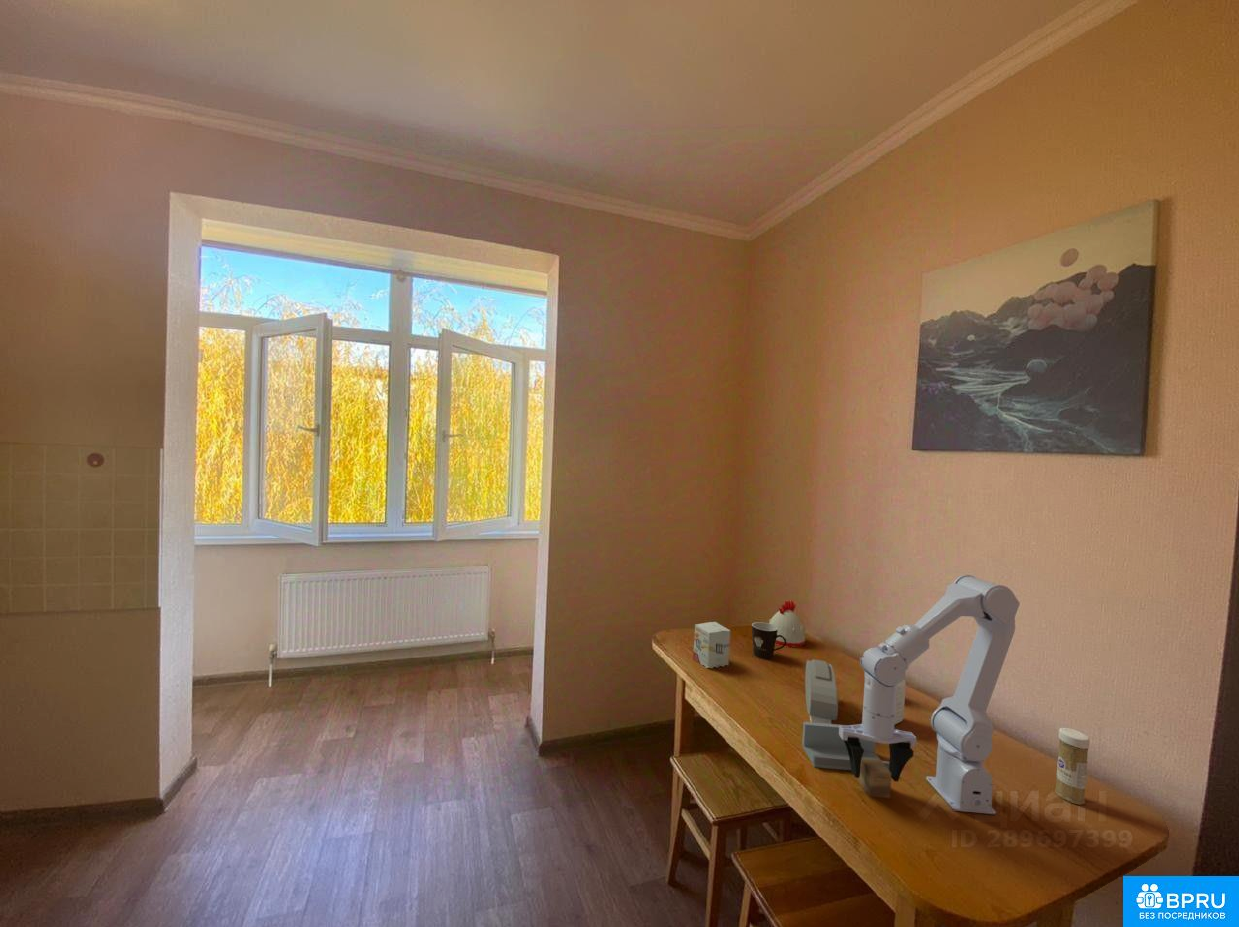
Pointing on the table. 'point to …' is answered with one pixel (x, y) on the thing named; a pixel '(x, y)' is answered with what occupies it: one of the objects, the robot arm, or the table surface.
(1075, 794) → the sprinkles bottle
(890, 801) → the table surface
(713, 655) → the ink box
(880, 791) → the cabinet block
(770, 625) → the coffee mug
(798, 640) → the white and red dome
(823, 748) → the wall shelf
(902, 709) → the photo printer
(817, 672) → the alarm clock
